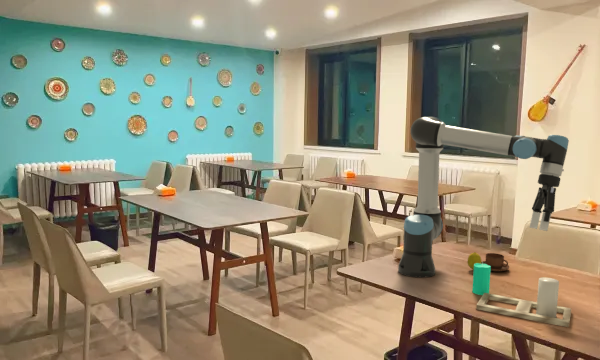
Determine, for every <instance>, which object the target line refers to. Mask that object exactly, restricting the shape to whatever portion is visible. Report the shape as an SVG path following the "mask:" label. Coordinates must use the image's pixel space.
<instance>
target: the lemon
mask: <svg viewBox="0 0 600 360" xmlns="http://www.w3.org/2000/svg"><path fill="white" fill-rule="evenodd" d="M481 262H482V257H481V255H480V254H479V253H477V252H475V251H474V252H472V253H470V254H469V255H468V257H467V266H468V267H469V269H472V271H474V264H476V263H480V264H481Z"/></svg>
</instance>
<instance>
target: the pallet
mask: <svg viewBox="0 0 600 360" xmlns="http://www.w3.org/2000/svg"><path fill="white" fill-rule="evenodd" d="M489 300H490V301H494V302H495V301H496V302H502V303H506V304H513V305H516V307H515V309H510V308H506V307H500V306H496V305H489V304H487V303H489ZM532 308H534V309H537V301H532V300H526V299H520V298H516V297H510V296H504V295H499V294H493V293H490V292H489V293H484V294H483V295H481V297H480V299H479V301H478V302H477V303H476V306H475V309H476V310H479V311H484V312H490V313H494V314H500V315H504V316H509V317H515V318H520V319H525V320H530V321H535V322H539V323H543V324H544V323H545V324H549V325H554V326H555V325H556V326H561V327H564V328H565V327H566V328H569V327H570V321H571V315H572V308H570V307H566V306H559V305H557V313H560V314H562V318H558V317H556V318H553V317H548V316H543V315H537V314H536V313H532V312H531V310H532Z"/></svg>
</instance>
